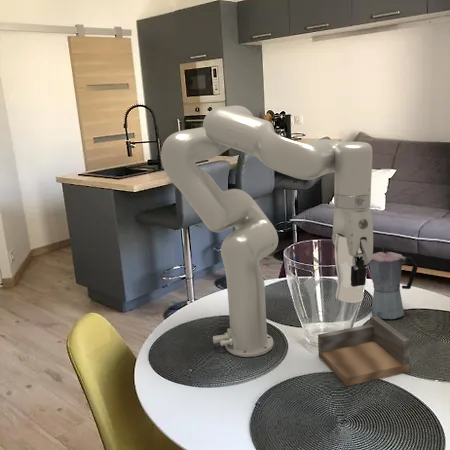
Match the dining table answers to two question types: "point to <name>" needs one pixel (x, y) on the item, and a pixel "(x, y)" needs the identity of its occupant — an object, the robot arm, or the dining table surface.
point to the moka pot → (389, 283)
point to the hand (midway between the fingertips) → (349, 278)
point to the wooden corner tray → (365, 352)
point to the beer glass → (346, 272)
